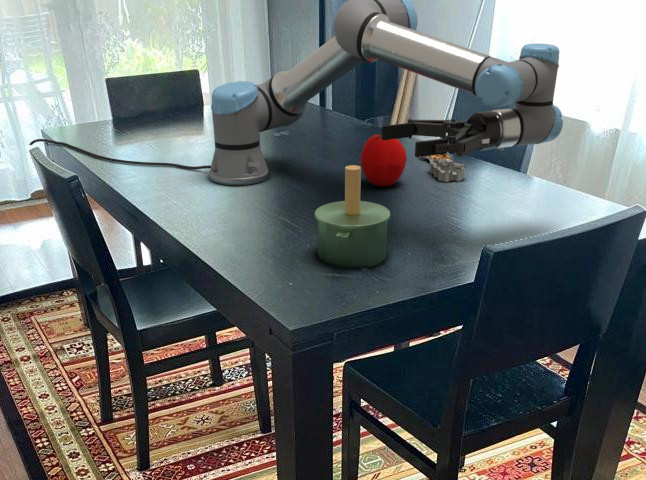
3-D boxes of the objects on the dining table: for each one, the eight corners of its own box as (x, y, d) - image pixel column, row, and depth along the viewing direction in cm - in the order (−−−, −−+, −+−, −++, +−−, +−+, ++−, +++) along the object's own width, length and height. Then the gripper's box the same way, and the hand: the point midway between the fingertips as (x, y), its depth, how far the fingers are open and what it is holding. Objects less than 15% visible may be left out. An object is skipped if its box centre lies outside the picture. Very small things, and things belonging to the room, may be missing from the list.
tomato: (353, 189, 192) (353, 136, 186) (369, 175, 202) (370, 125, 196) (397, 194, 188) (399, 140, 182) (411, 180, 198) (413, 129, 192)
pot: (307, 271, 147) (306, 229, 143) (329, 236, 163) (329, 198, 159) (376, 277, 144) (377, 235, 140) (392, 241, 160) (394, 202, 156)
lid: (306, 228, 145) (305, 176, 140) (324, 203, 158) (324, 154, 153) (383, 234, 142) (384, 181, 137) (395, 209, 155) (397, 159, 150)
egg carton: (465, 181, 197) (467, 166, 195) (437, 182, 196) (438, 167, 194) (454, 169, 206) (455, 154, 204) (427, 170, 206) (428, 155, 204)
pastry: (440, 169, 207) (441, 156, 205) (417, 158, 216) (418, 145, 215) (462, 166, 209) (463, 153, 208) (439, 155, 219) (440, 143, 217)
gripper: (526, 164, 146) (430, 177, 138) (457, 134, 166) (369, 145, 158) (531, 124, 142) (433, 136, 135) (459, 99, 162) (370, 108, 155)
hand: (398, 141), depth 146 cm, fingers open, 13 cm apart
